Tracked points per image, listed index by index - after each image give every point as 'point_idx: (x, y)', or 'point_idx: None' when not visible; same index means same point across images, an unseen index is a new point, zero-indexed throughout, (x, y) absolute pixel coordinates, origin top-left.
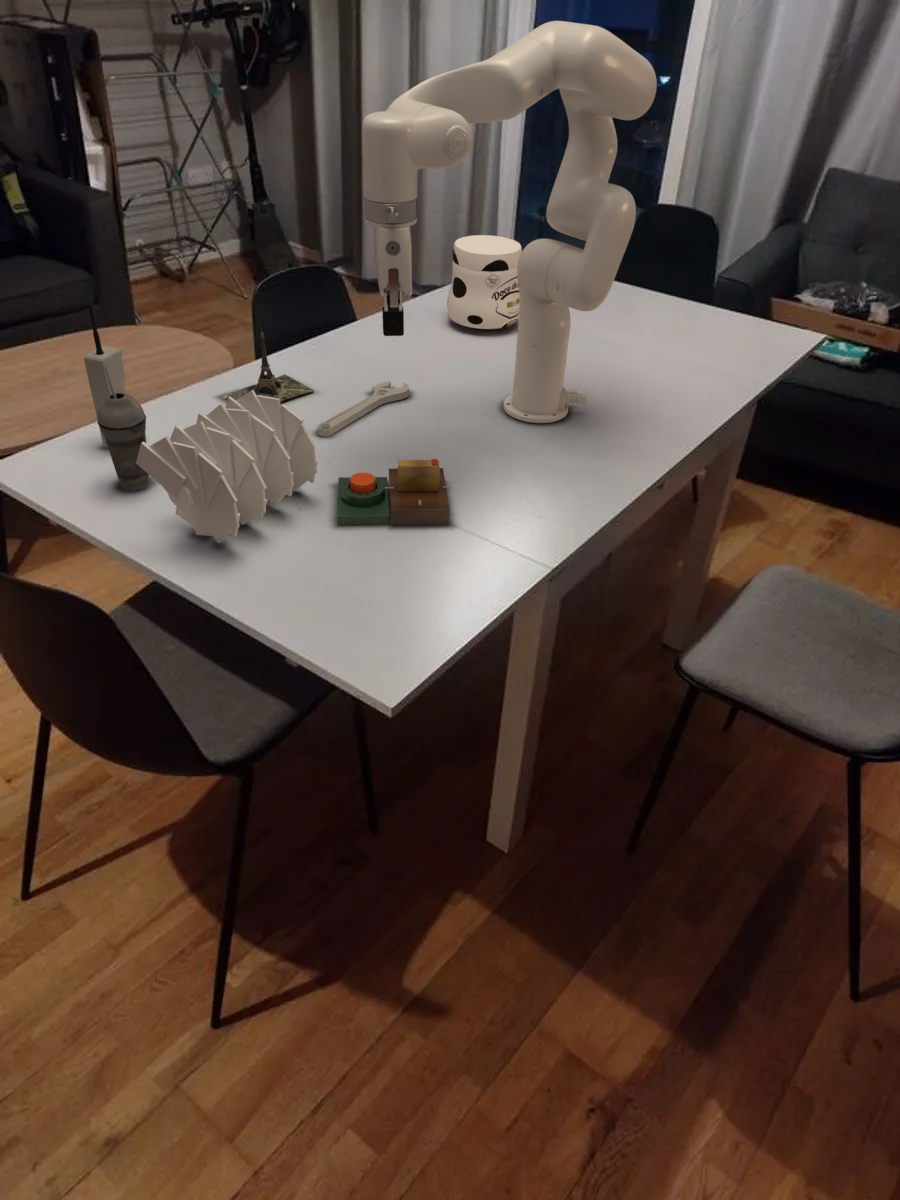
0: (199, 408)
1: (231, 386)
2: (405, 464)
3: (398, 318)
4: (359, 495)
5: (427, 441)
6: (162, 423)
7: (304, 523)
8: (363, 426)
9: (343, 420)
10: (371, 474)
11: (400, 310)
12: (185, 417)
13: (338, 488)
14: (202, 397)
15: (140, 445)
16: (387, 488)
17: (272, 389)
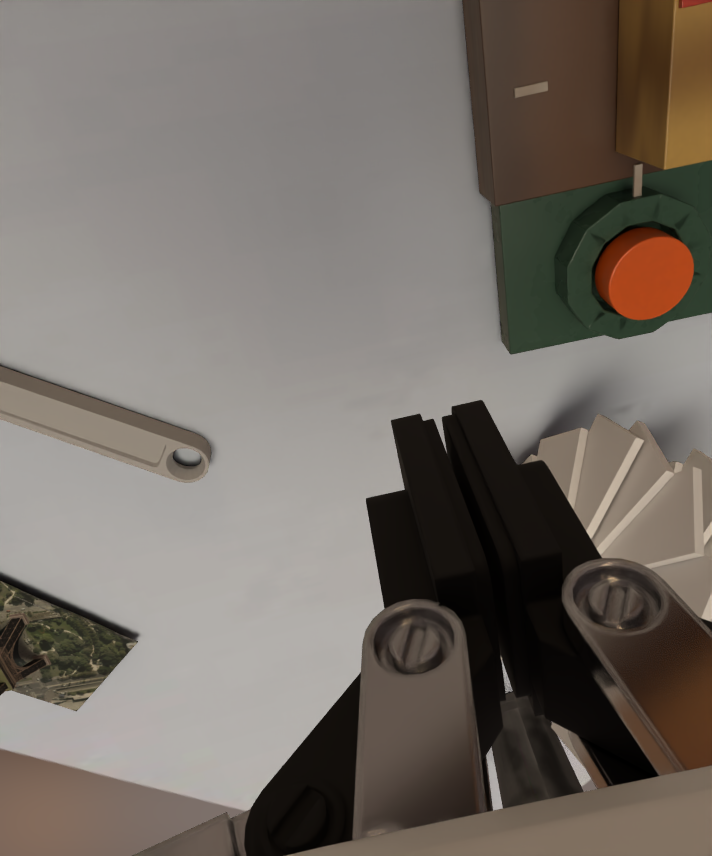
0: (155, 725)
1: (5, 711)
2: (704, 130)
3: (585, 536)
4: (697, 269)
5: (126, 94)
6: (252, 753)
7: (692, 381)
8: (95, 354)
9: (124, 423)
10: (625, 256)
11: (649, 586)
12: (210, 731)
13: (575, 340)
14: (96, 737)
15: (566, 781)
16: (640, 185)
17: (14, 640)
